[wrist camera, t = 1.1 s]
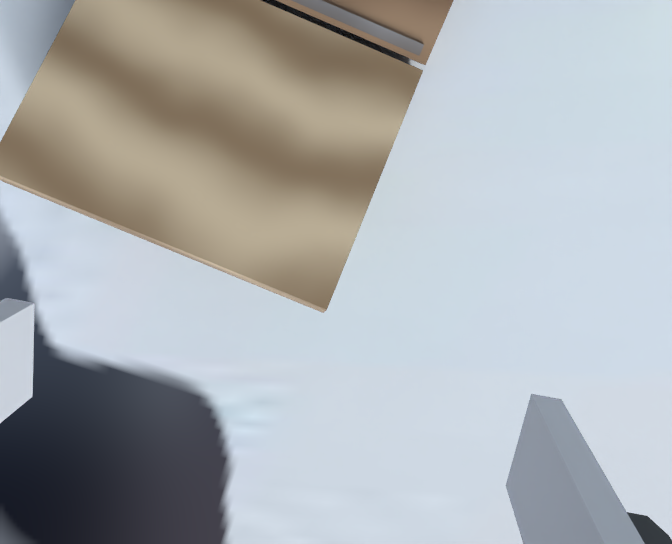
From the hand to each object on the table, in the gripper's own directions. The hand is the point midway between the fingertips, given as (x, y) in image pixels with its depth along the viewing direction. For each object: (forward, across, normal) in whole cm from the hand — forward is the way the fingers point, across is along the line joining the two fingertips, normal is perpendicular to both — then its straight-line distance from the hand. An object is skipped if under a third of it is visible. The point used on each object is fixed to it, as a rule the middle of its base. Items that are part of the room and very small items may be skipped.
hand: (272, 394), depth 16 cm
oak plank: (+19, -7, +5) cm, 21 cm away
